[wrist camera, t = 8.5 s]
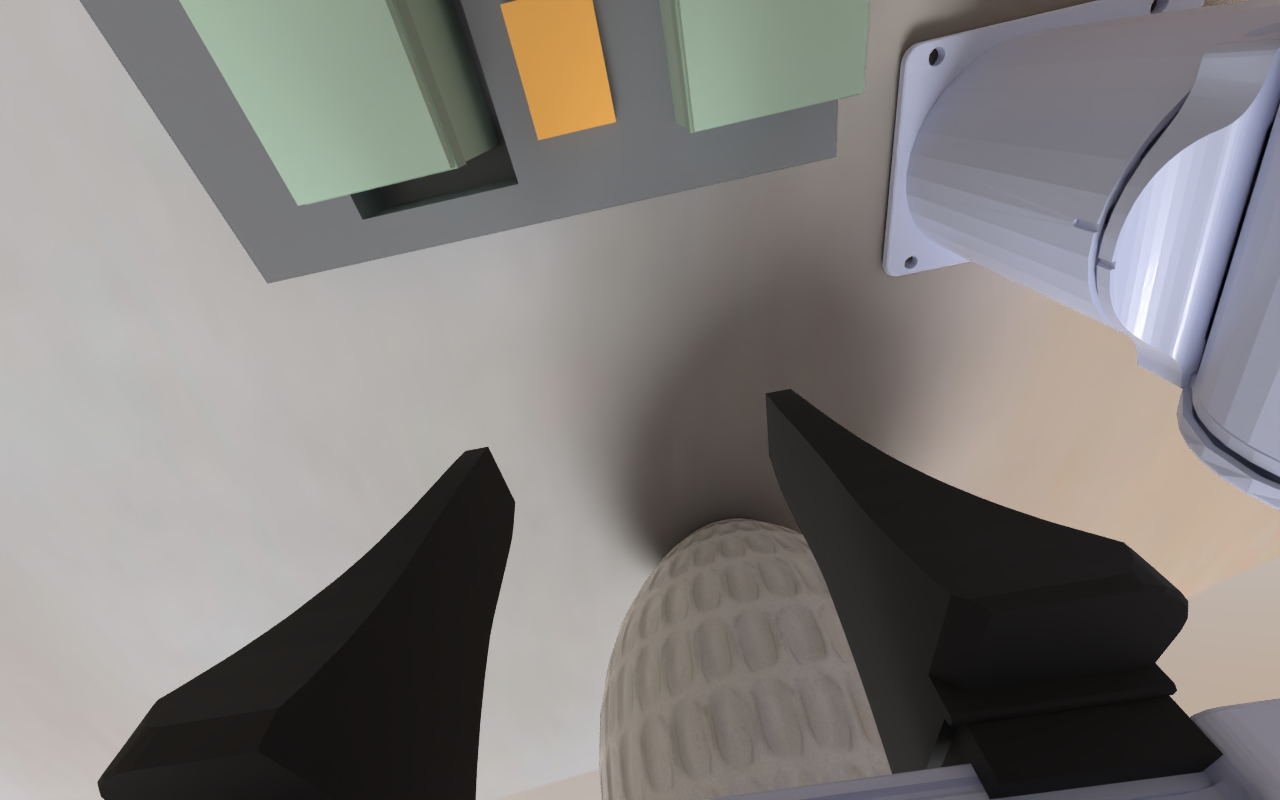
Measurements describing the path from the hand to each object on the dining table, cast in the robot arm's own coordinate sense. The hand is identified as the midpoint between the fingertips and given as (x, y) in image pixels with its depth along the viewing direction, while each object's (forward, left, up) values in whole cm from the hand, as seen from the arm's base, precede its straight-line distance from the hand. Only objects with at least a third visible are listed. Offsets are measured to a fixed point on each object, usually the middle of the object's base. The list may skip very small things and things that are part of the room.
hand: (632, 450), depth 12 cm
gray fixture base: (+2, -9, -10) cm, 13 cm away
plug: (+5, -9, -9) cm, 14 cm away
